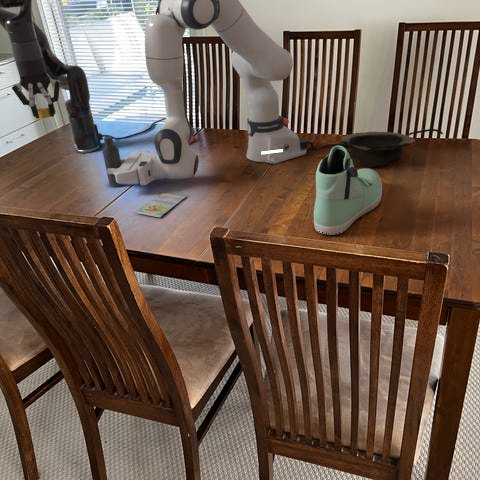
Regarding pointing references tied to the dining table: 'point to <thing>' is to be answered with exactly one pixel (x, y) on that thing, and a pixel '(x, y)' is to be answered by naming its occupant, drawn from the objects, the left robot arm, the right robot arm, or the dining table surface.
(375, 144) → the stone bowl
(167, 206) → the baking ingredient package
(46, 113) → the cap
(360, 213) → the sneaker
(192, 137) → the candy cane
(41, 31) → the left robot arm
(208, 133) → the dining table surface
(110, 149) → the bottle
